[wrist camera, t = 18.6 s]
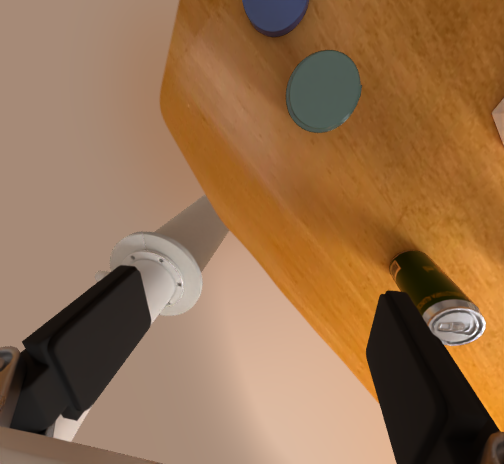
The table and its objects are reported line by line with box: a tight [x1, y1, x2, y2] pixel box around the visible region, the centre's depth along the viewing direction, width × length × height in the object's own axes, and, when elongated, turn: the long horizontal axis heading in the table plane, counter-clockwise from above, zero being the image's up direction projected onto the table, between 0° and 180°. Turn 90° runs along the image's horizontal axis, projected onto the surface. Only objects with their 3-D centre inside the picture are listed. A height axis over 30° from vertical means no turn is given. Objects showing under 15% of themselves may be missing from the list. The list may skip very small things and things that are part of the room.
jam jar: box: [286, 50, 362, 133], centre depth 24 cm, size 6×6×11 cm
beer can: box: [390, 250, 486, 346], centre depth 30 cm, size 5×5×12 cm
